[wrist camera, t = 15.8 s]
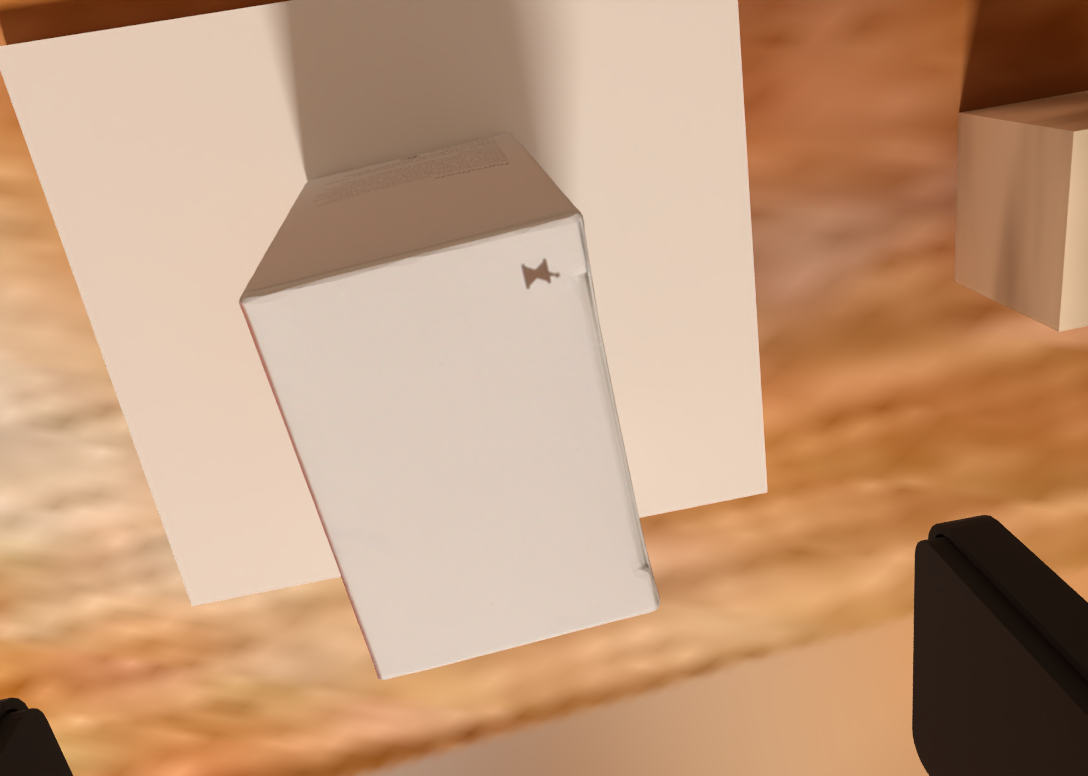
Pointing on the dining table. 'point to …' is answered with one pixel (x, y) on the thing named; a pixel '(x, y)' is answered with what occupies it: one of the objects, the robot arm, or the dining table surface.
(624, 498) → the small box
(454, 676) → the dining table surface
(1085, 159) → the birch block
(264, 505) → the mat
